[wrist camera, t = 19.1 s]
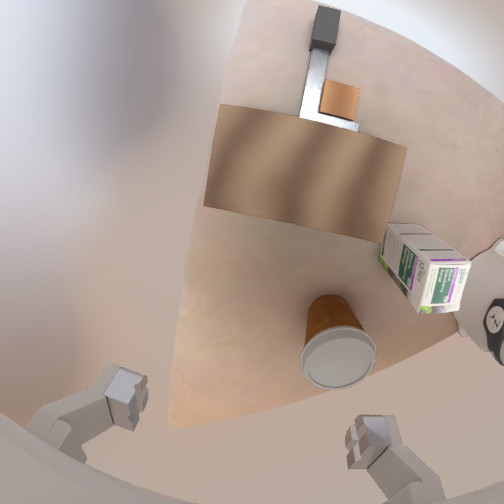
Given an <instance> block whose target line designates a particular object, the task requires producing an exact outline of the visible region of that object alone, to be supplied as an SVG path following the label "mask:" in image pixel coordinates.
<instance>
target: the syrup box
mask: <svg viewBox="0 0 504 504" xmlns="http://www.w3.org/2000/svg"><path fill="white" fill-rule="evenodd" d="M379 261H380V263H381V264H382V265H383V267H384V268H385V269H386V270H387V272H388V273H389V274H390V276H391V277H392V278H393V280H394V281H395V283H396V284H397V285H398V287H399V288H400V289H401V291H402V292H403V293H404V295H405V296H406V298H407V299H408V300H409V302H410V303H411V305H412V306H413V307H414V309H415V310H416V312H417V313H418V314H430V313H446V312H452V311H459V308H460V302H461V299H462V296H463V293H464V290H465V287H466V284H467V279H468V275H469V271H470V267H471V261H470V260H468V259H467V258H466V257H464V256H463V255H462V254H460V253H459V252H458V251H456V250H455V249H453V248H452V247H451V246H449V245H448V244H446V243H445V242H444V241H442V240H441V239H439V238H438V237H436V236H435V235H433V234H432V233H431V232H429V231H428V230H426V229H425V228H423V227H422V226H420V225H419V224H398V223H388V225H387V228H386V232H385V235H384V238H383V241H382V244H381V251H380V259H379Z"/></svg>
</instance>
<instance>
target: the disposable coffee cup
mask: <svg viewBox="0 0 504 504" xmlns="http://www.w3.org/2000/svg"><path fill="white" fill-rule="evenodd" d="M376 354H377V350H376V345H375V342H374V340H373V339H372V338H371V336H369V335H368V334H367V333H366V332H365V331H364V329H363V328H362V326H361V325H360V323H359V321H358V320H357V318H356V317H355V315H354V313H353V312H352V310H351V308H350V307H349V305H348V303H347V302H346V301H345V300H344V299H343V298H341V297H340V296H336V295H326V296H322V297H320V298H318V299H317V300H315V301H314V302H313V303H312V305H311V306H310V309H309V312H308V322H307V331H306V338H305V347H304V349H303V351H302V353H301V357H300V367H301V370H302V372H303V373H304V375H305V376H306V377H307V379H308V380H309V381H310V382H311V383H312V384H313V385H315V386H316V387H319V388H321V389H326V390H341V389H346V388H349V387H351V386H354V385H356V384H358V383H359V382H361V381H362V380H364V379H365V378H366V377H367V376H368V375H369V373H370V372H371V371H372V369H373V366H374V363H375V359H376Z"/></svg>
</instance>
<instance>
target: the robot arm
mask: <svg viewBox="0 0 504 504" xmlns="http://www.w3.org/2000/svg"><path fill="white" fill-rule="evenodd" d="M452 312H453V315H454V317H455V318H456V320H457V322H458V333H459V334H460V335H461V336H462V337H468V336H469V337H470V338H471V339H472V340H473V342H474V343H475V344H476V345H477V346H478V347H479V348H480V349H481V350H482V351H483V352H486V351H490V352H491V353H492V355H493V357H494V358H495V360H496V361H498V362H499V363H500V364H501V365H502V366H504V239H503V238H500V239H498V240H497V241H496V242H495V243H494V245H493V246H492V247H491V248H490V249H488V250H487V251H485V252H483V253H481V254H479V255H478V256H476V257H475V258H474V259H473V260H472V261H471V267H470V271H469V275H468V279H467V284H466V287H465V290H464V293H463V296H462V299H461V302H460V308H459V311H452ZM147 382H148V381H147V376H145V375H142V374H140V373H137V372H134V371H131V370H128V369H126V368H124V367H120V366H118V365H115V364H113V363H110V364H109V365H107V367H106V368H105V370H104V371H103V372H102V374H101V375H100V377H99V378H98V380H97V381H96V382H95V384H94V386H93V387H92V388H91V390H89V389H85V390H83V391H80V392H78V393H75V394H73V395H70V396H68V397H65V398H63V399H60V400H57V401H55V402H52V403H50V404H47V405H44V406H42V407H40V408H39V409H38V411H37V412H36V413H35V415H34V416H33V417H32V419H31V420H30V421H29V423H28V424H27V425H26V427H25V428H22V427H21V426H19V425H18V424H16V423H15V422H13V421H12V420H11V419H9V418H8V417H6V416H5V415H4V414H3V413H1V412H0V504H197V503H193V502H189V501H185V500H181V499H177V498H173V497H170V496H167V495H163V494H160V493H157V492H154V491H151V490H148V489H145V488H142V487H139V486H136V485H133V484H131V483H128V482H126V481H123V480H120V479H118V478H116V477H113V476H111V475H108V474H106V473H104V472H101V471H99V470H97V469H95V468H93V467H91V466H88V465H86V464H85V461H86V460H87V457H86V455H85V453H84V451H83V449H82V447H81V445H82V444H84V443H85V442H87V441H89V440H90V439H92V438H94V437H96V436H97V435H99V434H100V433H102V432H104V431H105V430H107V429H109V428H110V427H112V426H113V424H114V425H117V426H120V427H122V428H125V429H128V430H131V431H134V430H135V427H136V425H137V423H138V421H139V413H140V412H142V411H144V408H145V406H146V403H147V400H148V389H147V387H146V384H147ZM345 447H346V448H347V449H348V450H349V453H348V455H347V464H348V469H367V471H368V473H369V474H370V475H371V477H372V478H373V479H374V481H375V482H376V484H377V485H378V486H379V488H380V489H381V490H382V492H383V493H384V494H385V495H386V497H387V498H388V501H386V502H385V503H383V504H504V481H500V482H497V483H495V484H493V485H490V486H487V487H485V488H482V489H479V490H476V491H474V492H470V493H467V494H465V495H461V496H458V497H455V498H452V499H448V500H445V496H444V492H443V488H442V484H441V481H440V477H439V476H438V475H437V474H436V473H435V472H434V471H433V470H432V469H430V468H429V467H428V466H427V465H426V464H425V463H424V462H423V461H422V460H421V459H420V458H419V457H418V456H417V455H415V454H414V453H413V452H412V451H411V450H410V449H409V448H408V447H407V446H403V443H402V440H401V436H400V432H399V429H398V426H397V422H396V419H395V417H394V416H393V415H359V416H357V417H356V419H355V424H354V425H352V426H350V427H349V429H348V431H347V433H346V437H345Z"/></svg>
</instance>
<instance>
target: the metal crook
mask: <svg viewBox="0 0 504 504" xmlns="http://www.w3.org/2000/svg"><path fill="white" fill-rule="evenodd" d="M340 13H341V10H337V9H333V8H329V7H324V6H320V5H319V6H318V10H317V14H316V17H315V22H314V27H313V33H312V38H311V44H310V49H309V51H310V52H311V57H310V62H309V68H308V73H307V78H306V84H305V89H304V94H303V99H302V104H301V110H300V115H299V117H301V118H305V119H310V120H314V121H318V122H322V123H326V124H330V125H334V126H338V127H342V128H345V129H349V130H353V131H356V132H357V130H358V125H359V124H358V123H354V122H351V121H347V120H344V119H340V118H336V117H332V116H328V115H324V114H320V113H318V109H319V104H320V99H321V94H322V88H323V83H324V77H325V72H326V66H327V61H328V56H329V55H330V54H331V52H332V50H333V48H334V46H335V45H336V39H337V33H338V27H339V20H340Z"/></svg>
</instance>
